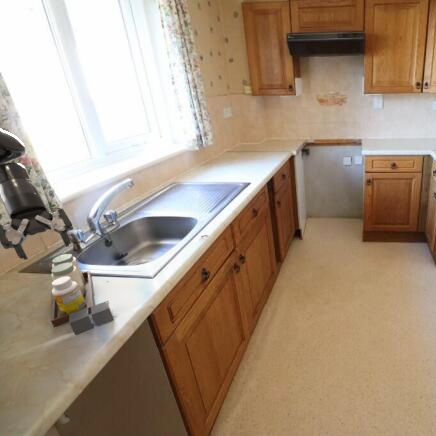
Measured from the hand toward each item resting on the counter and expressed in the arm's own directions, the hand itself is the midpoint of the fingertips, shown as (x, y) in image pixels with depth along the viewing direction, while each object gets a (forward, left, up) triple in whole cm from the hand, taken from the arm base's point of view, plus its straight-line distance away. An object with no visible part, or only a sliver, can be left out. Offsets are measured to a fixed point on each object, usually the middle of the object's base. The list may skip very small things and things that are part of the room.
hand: (47, 251), depth 82 cm
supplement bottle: (0, -1, -19) cm, 19 cm away
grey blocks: (+4, -10, -19) cm, 22 cm away
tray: (0, +5, -19) cm, 20 cm away
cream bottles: (0, +10, -19) cm, 21 cm away
